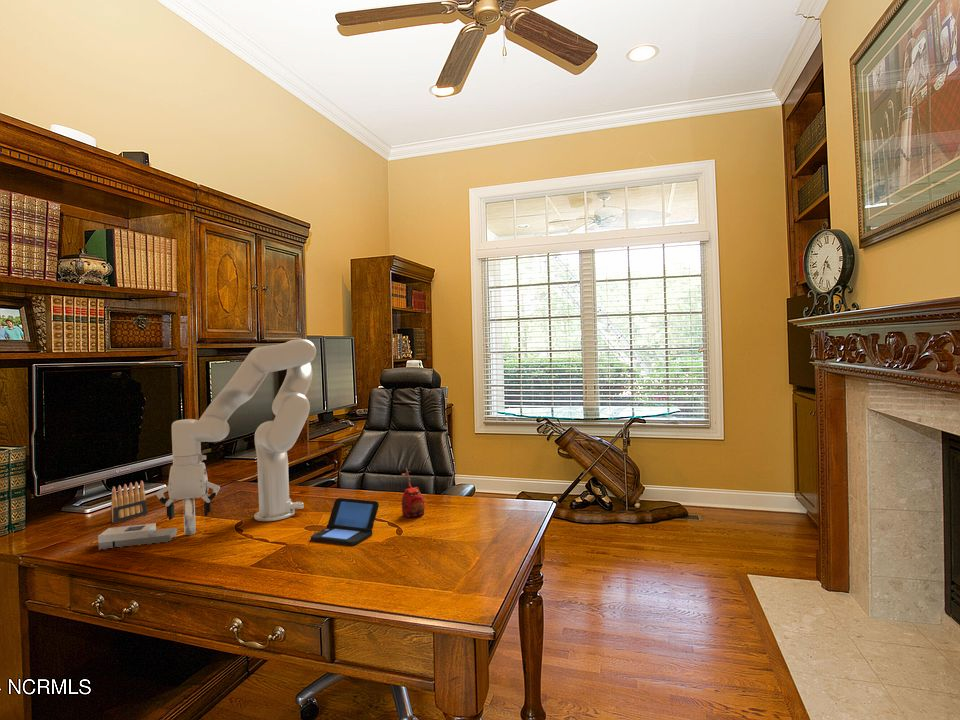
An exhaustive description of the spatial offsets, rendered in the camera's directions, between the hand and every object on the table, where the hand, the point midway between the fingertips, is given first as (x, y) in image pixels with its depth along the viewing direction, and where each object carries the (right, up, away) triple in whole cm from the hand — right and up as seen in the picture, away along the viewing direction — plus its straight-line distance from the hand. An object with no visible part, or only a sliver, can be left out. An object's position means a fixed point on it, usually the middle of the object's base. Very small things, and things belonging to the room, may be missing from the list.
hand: (189, 516), depth 159 cm
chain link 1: (-15, -6, -6) cm, 17 cm away
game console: (+49, -4, -6) cm, 49 cm away
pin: (0, -5, 0) cm, 5 cm away
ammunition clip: (-31, -6, +19) cm, 37 cm away
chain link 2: (-10, -6, -5) cm, 12 cm away
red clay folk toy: (+66, -3, +12) cm, 67 cm away
